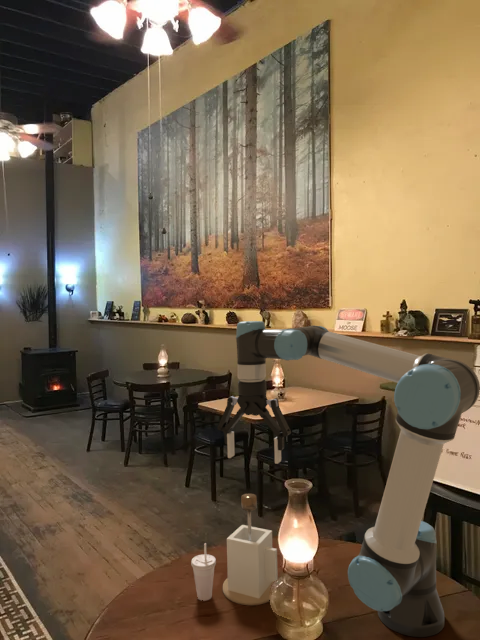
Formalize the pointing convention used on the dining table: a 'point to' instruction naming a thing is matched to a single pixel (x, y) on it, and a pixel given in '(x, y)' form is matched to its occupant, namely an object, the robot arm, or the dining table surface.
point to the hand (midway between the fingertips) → (254, 459)
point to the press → (250, 566)
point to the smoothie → (203, 574)
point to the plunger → (249, 509)
